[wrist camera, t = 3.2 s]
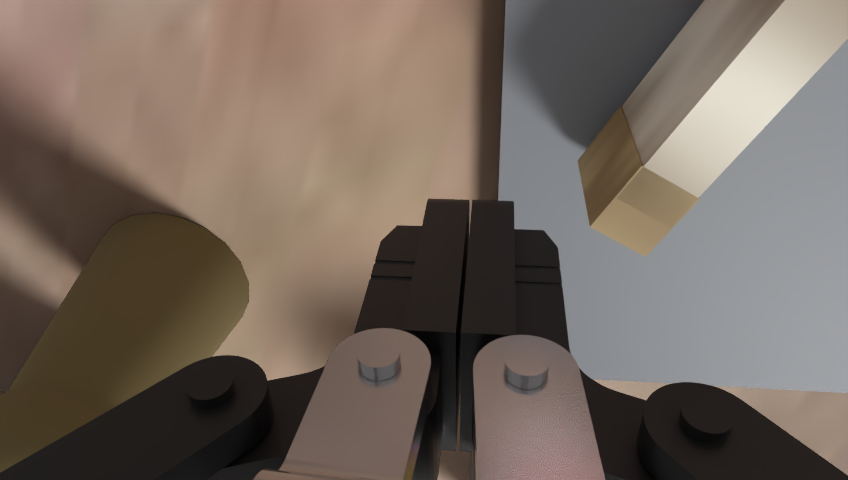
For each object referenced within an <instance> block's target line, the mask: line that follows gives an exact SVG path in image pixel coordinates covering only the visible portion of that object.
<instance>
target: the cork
mask: <svg viewBox="0 0 848 480" xmlns="http://www.w3.org/2000/svg"><path fill="white" fill-rule="evenodd" d="M248 302H249V282H248V279H247V277H246V274H245V272H244V269H243V267H242V264H241V262H240V261H239V260H238V258H237V257H236V256H235V255H234V253H233V252H232V251H231V250H230V248H229V247H228V246H227V245H226V244H225V243H224V242H223V241H221V240H220V239H219V238H217V237H216V236H215V235H213V234H212V233H211V232H210V231H208V230H207V229H206V228H204V227H201V226H199V225H197V224H195V223H192V222H190V221H188V220H186V219H183V218H181V217H176V216H170V215H164V214H159V213H149V214H140V215H132V216H130V217H128V218H126V219H123V220H121V221H119V222H117V223H115V224H113V226H112V227H111V228H110V229H109V230H108V232H107V233H106V234H105V235H104V236H103V238H102V239H101V241H100V242H99V244H98V245H97V247H96V249H95V250H94V252H93V254H92V255H91V257H90V258H89V260H88V262H87V263H86V265H85V267H84V268H83V270H82V271H81V273H80V275H79V276H78V278H77V279H76V281H75V283H74V284H73V286H72V288H71V289H70V291H69V292H68V294H67V296H66V297H65V299H64V301H63V302H62V304H61V305H60V307H59V309H58V310H57V312H56V313H55V315H54V317H53V318H52V320H51V322H50V323H49V325H48V326H47V328H46V330H45V331H44V333H43V335H42V336H41V338H40V339H39V341H38V343H37V344H36V346H35V347H34V349H33V351H32V352H31V354H30V356H29V357H28V359H27V360H26V362H25V364H24V365H23V367H22V369H21V370H20V372H19V373H18V375H17V377H16V378H15V380H14V381H13V383H12V385H11V386H10V388H9V390H8V391H7V392H5V393H2V394H0V472H2V471H4V470H6V469H7V468H9V467H11V466H13V465H14V464H16V463H18V462H20V461H21V460H23V459H25V458H27V457H28V456H30V455H32V454H34V453H35V452H37V451H39V450H41V449H42V448H44V447H46V446H48V445H49V444H51V443H53V442H55V441H56V440H58V439H60V438H62V437H63V436H65V435H67V434H69V433H70V432H72V431H74V430H76V429H77V428H79V427H81V426H83V425H84V424H86V423H88V422H90V421H91V420H93V419H95V418H97V417H98V416H100V415H102V414H104V413H105V412H107V411H109V410H111V409H112V408H114V407H116V406H118V405H119V404H121V403H123V402H125V401H126V400H128V399H130V398H132V397H133V396H135V395H137V394H139V393H140V392H142V391H144V390H145V389H147V388H149V387H151V386H152V385H154V384H156V383H158V382H159V381H161V380H163V379H165V378H166V377H168V376H170V375H172V374H173V373H175V372H177V371H179V370H180V369H182V368H184V367H186V366H188V365H190V364H192V363H194V362H197V361H199V360H202V359H206V358H209V357H212V356H213V355H214V353H215V352H216V351H217V349H218V348H219V347H220V345H221V344H222V343H223V341H224V340H225V339H226V337H227V336H228V335H229V333H230V332H231V331H232V329H233V328H234V327H235V326H236V324H237V323H238V322H239V320H240V319H241V318H242V316H243V314H244V311H245V309H246V307H247V304H248Z"/></svg>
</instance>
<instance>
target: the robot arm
mask: <svg viewBox="0 0 848 480" xmlns="http://www.w3.org/2000/svg"><path fill="white" fill-rule="evenodd" d="M460 392H461V399H460ZM459 404H460V451H469V452H471V480H848V475H846V474H845V473H843V472H842V471H840V470H839V469H838V468H836V467H835V466H833V465H832V464H831V463H829V462H828V461H826V460H825V459H824V458H822V457H821V456H819V455H818V454H817V453H815V452H814V451H812V450H811V449H810V448H808V447H807V446H805V445H804V444H803V443H801V442H800V441H798V440H797V439H796V438H794V437H793V436H791V435H790V434H789V433H787V432H786V431H784V430H783V429H782V428H780V427H779V426H777V425H776V424H775V423H773V422H772V421H770V420H769V419H768V418H766V417H765V416H763V415H762V414H761V413H759V412H758V411H756V410H755V409H753V408H752V407H751V406H749V405H748V404H746V403H745V402H744V401H742V400H741V399H739V398H738V397H736V396H734V395H733V394H731V393H729V392H727V391H725V390H722V389H720V388H717V387H714V386H710V385H706V384H702V383H695V382H680V383H673V384H669V385H665V386H663V387H661V388H659V389H657V390H656V391H655V392H653V393H652V394H651V395H650V396H649V398H648V399H647V401H646V400H643V399H639V398H636V397H633V396H629V395H626V394H623V393H620V392H617V391H614V390H611V389H609V388H607V387H604V386H602V385H600V384H599V383H597V382H595V381H594V380H592V379H591V378H590V377H588V376H587V375H586V374H585V373H584V372H583V371H582V370H581V369H580V368H579V367H578V364H577V362H576V361H575V359H574V357H573V356H572V355H571V352H570V348H569V340H568V331H567V322H566V314H565V305H564V296H563V287H562V279H561V271H560V261H559V252H558V247H557V246H556V244H555V243H554V242H553V241H552V240H551V238H550V237H549V236H548V235H547V234H546V232H545V231H544V230H524V229H514V201H495V200H473V201H472V212H471V223H470V234H469V200H455V199H428V201H427V205H426V210H425V215H424V220H423V225H422V226H398V225H397V226H396V227H395V228H394V229H393V230H392V231H391V232H390V233H389V234H388V235H387V236H386V237H385V238H384V239H383V240H382V241H381V243H380V246H379V250H378V253H377V256H376V260H375V264H374V267H373V270H372V274H371V279H370V281H369V284H368V287H367V291H366V294H365V298H364V301H363V305H362V308H361V312H360V315H359V318H358V322H357V325H356V329H355V332H354V335H351V336H349V337H348V338H346V339H344V340H343V341H342V342H341V343H339V344H338V345H337V346H336V347H335V349H334V350H333V351H332V353H331V355H330V357H329V359H328V361H327V363H326V366H324V367H322V368H320V369H317V370H314V371H312V372H309V373H304V374H300V375H295V376H290V377H285V378H279V379H274V380H269V381H267V378H266V375H265V373H264V371H263V369H262V368H261V367H260V366H259V365H258V364H256V363H255V362H253V361H251V360H249V359H247V358H243V357H239V356H230V355H226V356H215V357H209V358H206V359H202V360H199V361H197V362H194V363H192V364H190V365H188V366H186V367H184V368H182V369H180V370H179V371H177V372H175V373H173V374H172V375H170V376H168V377H166V378H165V379H163V380H161V381H159V382H158V383H156V384H154V385H152V386H151V387H149V388H147V389H145V390H144V391H142V392H140V393H139V394H137V395H135V396H133V397H132V398H130V399H128V400H126V401H125V402H123V403H121V404H119V405H118V406H116V407H114V408H112V409H111V410H109V411H107V412H105V413H104V414H102V415H100V416H98V417H97V418H95V419H93V420H91V421H90V422H88V423H86V424H84V425H83V426H81V427H79V428H77V429H76V430H74V431H72V432H70V433H69V434H67V435H65V436H63V437H62V438H60V439H58V440H56V441H55V442H53V443H51V444H49V445H48V446H46V447H44V448H42V449H41V450H39V451H37V452H35V453H34V454H32V455H30V456H28V457H27V458H25V459H23V460H21V461H20V462H18V463H16V464H14V465H13V466H11V467H9V468H7V469H6V470H4V471H2V472H0V480H437V477H438V472H439V463H440V453H441V450H450V451H456V442H457V429H458V417H459Z"/></svg>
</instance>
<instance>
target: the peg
mask: <svg viewBox="0 0 848 480" xmlns="http://www.w3.org/2000/svg"><path fill="white" fill-rule="evenodd" d="M847 39H848V0H704V1H703V3H702V4H701V5H700V7H699V8H698V9H697V10H696V12H695V13H694V14H693V16H692V17H691V18H690V19H689V21H688V22H687V23H686V25H685V26H684V27H683V28H682V30H681V31H680V32H679V34H678V35H677V36H676V37H675V39H674V40H673V41H672V43H671V44H670V45H669V46H668V48H667V49H666V50H665V52H664V53H663V54H662V55H661V57H660V58H659V59H658V61H657V62H656V63H655V64H654V66H653V67H652V68H651V70H650V71H649V72H648V73H647V75H646V76H645V77H644V79H643V80H642V81H641V82H640V84H639V85H638V86H637V88H636V89H635V90H634V91H633V93H632V94H631V95H630V97H629V98H628V99H627V100H626V102H625V103H624V104H623V106H620V107H619V108H618V109H617V111H616V112H615V113H614V114H613V116H612V117H611V118H610V120H609V121H608V122H607V123H606V125H605V126H604V127H603V129H602V130H601V131H600V132H599V134H598V135H597V136H596V138H595V139H594V140H593V141H592V143H591V144H590V145H589V147H588V148H587V149H586V151H585V152H584V153H583V154H582V156H581V157H580V158H579V160H578V166H579V171H580V177H581V182H582V187H583V193H584V198H585V203H586V209H587V214H588V219H589V225H590V227H591V228H593V229H595V230H597V231H598V232H600V233H602V234H604V235H606V236H608V237H610V238H611V239H613V240H615V241H617V242H619V243H621V244H622V245H624V246H626V247H628V248H630V249H632V250H634V251H635V252H637V253H639V254H641V255H643V256H645V257H646V256H647V255H648V254H649V253H650V252H651V251H652V250H653V248H654V247H655V246H656V245H657V244H658V243H659V242H660V241H661V240H662V239H663V238H664V237H665V236H666V235H667V234H668V233H669V231H670V230H671V229H672V228H673V227H674V226H675V225H676V224H677V223H678V222H679V221H680V220H681V219H682V218H683V217H684V216H685V214H686V213H687V212H688V211H689V210H690V209H691V208H692V207H693V206H694V205H695V204H696V203H697V202H698V201H699V200H700V198H699V197H700V196H701V195H702V194H703V193H704V191H705V190H706V189H707V188H708V187H709V186H710V185H711V184H712V183H713V182H714V181H715V180H716V179H717V178H718V177H719V175H720V174H721V173H722V172H723V171H724V170H725V169H726V168H727V167H728V166H729V165H730V164H731V163H732V162H733V161H734V159H735V158H736V157H737V156H738V155H739V154H740V153H741V152H742V151H743V150H744V149H745V148H746V147H747V146H748V145H749V143H750V142H751V141H752V140H753V139H754V138H755V137H756V136H757V135H758V134H759V133H760V132H761V131H762V130H763V129H764V127H765V126H766V125H767V124H768V123H769V122H770V121H771V120H772V119H773V118H774V117H775V116H776V115H777V114H778V113H779V111H780V110H781V109H782V108H783V107H784V106H785V105H786V104H787V103H788V102H789V101H790V100H791V99H792V98H793V97H794V95H795V94H796V93H797V92H798V91H799V90H800V89H801V88H802V87H803V86H804V85H805V84H806V83H807V82H808V81H809V79H810V78H811V77H812V76H813V75H814V74H815V73H816V72H817V71H818V70H819V69H820V68H821V67H822V66H823V65H824V63H825V62H826V61H827V60H828V59H829V58H830V57H831V56H832V55H833V54H834V53H835V52H836V51H837V50H838V49H839V47H840V46H841V45H842V44H843V43H844V42H845V41H846V40H847Z"/></svg>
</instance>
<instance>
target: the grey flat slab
mask: <svg viewBox="0 0 848 480" xmlns="http://www.w3.org/2000/svg"><path fill="white" fill-rule="evenodd" d="M703 1H704V0H505V25H504V52H503V78H502V105H501V132H500V158H499V185H498V201H514V229H524V230H544V231H545V232H546V234H547V235H548V236H549V237H550V238H551V240H552V241H553V242H554V243H555V244H556V246H557V247H558V252H559V261H560V271H561V279H562V287H563V296H564V305H565V314H566V322H567V331H568V340H569V348H570V352H571V355H572V356H573V357H574V359H575V361H576V362H577V364H578V367H579V368H580V369H581V370H582V371H583V372H584V373H585V374H586V375H587V376H588V377H590V378H591V379H599V380H617V381H635V382H654V383H672V384H673V383H680V382H695V383H702V384H706V385H710V386H728V387H746V388H765V389H783V390H801V391H820V392H838V393H848V39H847V40H846V41H845V42H844V43H843V44H842V45H841V46H840V47H839V49H838V50H837V51H836V52H835V53H834V54H833V55H832V56H831V57H830V58H829V59H828V60H827V61H826V62H825V63H824V65H823V66H822V67H821V68H820V69H819V70H818V71H817V72H816V73H815V74H814V75H813V76H812V77H811V78H810V79H809V81H808V82H807V83H806V84H805V85H804V86H803V87H802V88H801V89H800V90H799V91H798V92H797V93H796V94H795V95H794V97H793V98H792V99H791V100H790V101H789V102H788V103H787V104H786V105H785V106H784V107H783V108H782V109H781V110H780V111H779V113H778V114H777V115H776V116H775V117H774V118H773V119H772V120H771V121H770V122H769V123H768V124H767V125H766V126H765V127H764V129H763V130H762V131H761V132H760V133H759V134H758V135H757V136H756V137H755V138H754V139H753V140H752V141H751V142H750V143H749V145H748V146H747V147H746V148H745V149H744V150H743V151H742V152H741V153H740V154H739V155H738V156H737V157H736V158H735V159H734V161H733V162H732V163H731V164H730V165H729V166H728V167H727V168H726V169H725V170H724V171H723V172H722V173H721V174H720V175H719V177H718V178H717V179H716V180H715V181H714V182H713V183H712V184H711V185H710V186H709V187H708V188H707V189H706V190H705V191H704V193H703V194H702V195H701V196H700V197H699V198H700V200H699V201H698V202H697V203H696V204H695V205H694V206H693V207H692V208H691V209H690V210H689V211H688V212H687V213H686V214H685V216H684V217H683V218H682V219H681V220H680V221H679V222H678V223H677V224H676V225H675V226H674V227H673V228H672V229H671V230H670V231H669V233H668V234H667V235H666V236H665V237H664V238H663V239H662V240H661V241H660V242H659V243H658V244H657V245H656V246H655V247H654V248H653V250H652V251H651V252H650V253H649V254H648V255H647V256H646V257H645V256H643V255H641V254H639V253H637V252H635V251H634V250H632V249H630V248H628V247H626V246H624V245H622V244H621V243H619V242H617V241H615V240H613V239H611V238H610V237H608V236H606V235H604V234H602V233H600V232H598V231H597V230H595V229H593V228H591V227H590V225H589V219H588V214H587V209H586V203H585V198H584V193H583V187H582V182H581V177H580V171H579V166H578V160H579V158H580V157H581V156H582V154H583V153H584V152H585V151H586V149H587V148H588V147H589V145H590V144H591V143H592V141H593V140H594V139H595V138H596V136H597V135H598V134H599V132H600V131H601V130H602V129H603V127H604V126H605V125H606V123H607V122H608V121H609V120H610V118H611V117H612V116H613V114H614V113H615V112H616V111H617V109H618V108H619V107H620V106H623V104H624V103H625V102H626V100H627V99H628V98H629V97H630V95H631V94H632V93H633V91H634V90H635V89H636V88H637V86H638V85H639V84H640V82H641V81H642V80H643V79H644V77H645V76H646V75H647V73H648V72H649V71H650V70H651V68H652V67H653V66H654V64H655V63H656V62H657V61H658V59H659V58H660V57H661V55H662V54H663V53H664V52H665V50H666V49H667V48H668V46H669V45H670V44H671V43H672V41H673V40H674V39H675V37H676V36H677V35H678V34H679V32H680V31H681V30H682V28H683V27H684V26H685V25H686V23H687V22H688V21H689V19H690V18H691V17H692V16H693V14H694V13H695V12H696V10H697V9H698V8H699V7H700V5H701V4H702V3H703Z"/></svg>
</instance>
